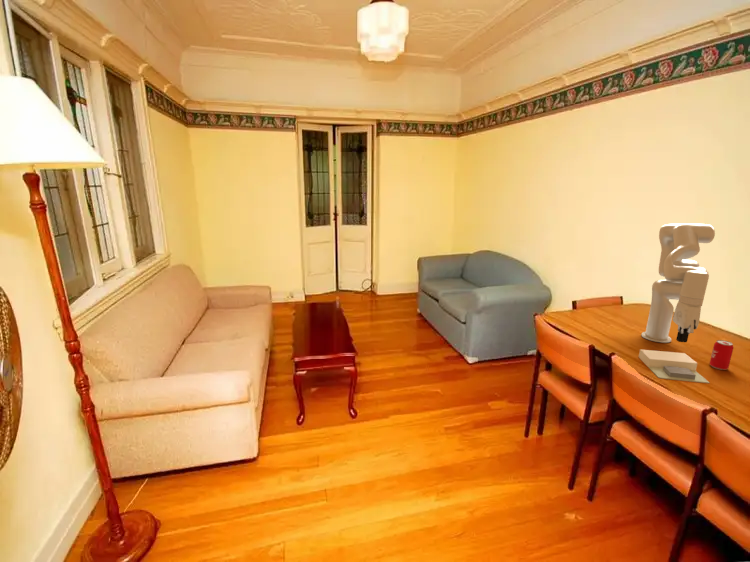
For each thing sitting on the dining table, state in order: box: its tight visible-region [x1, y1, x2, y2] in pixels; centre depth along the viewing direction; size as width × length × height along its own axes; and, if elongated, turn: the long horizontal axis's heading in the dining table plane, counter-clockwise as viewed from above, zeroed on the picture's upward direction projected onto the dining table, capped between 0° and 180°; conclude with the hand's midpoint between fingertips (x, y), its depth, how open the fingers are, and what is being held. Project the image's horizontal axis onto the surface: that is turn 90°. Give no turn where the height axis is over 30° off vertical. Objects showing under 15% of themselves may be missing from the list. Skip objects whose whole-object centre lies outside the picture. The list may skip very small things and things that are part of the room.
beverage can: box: [709, 339, 734, 371], centre depth 163 cm, size 6×6×12 cm
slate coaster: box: [663, 366, 696, 379], centre depth 157 cm, size 6×9×2 cm, turn 75°
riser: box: [638, 349, 698, 372], centre depth 167 cm, size 10×18×4 cm, turn 76°
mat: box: [647, 366, 710, 384], centre depth 158 cm, size 10×18×1 cm, turn 76°
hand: (681, 341), depth 157 cm, fingers closed
